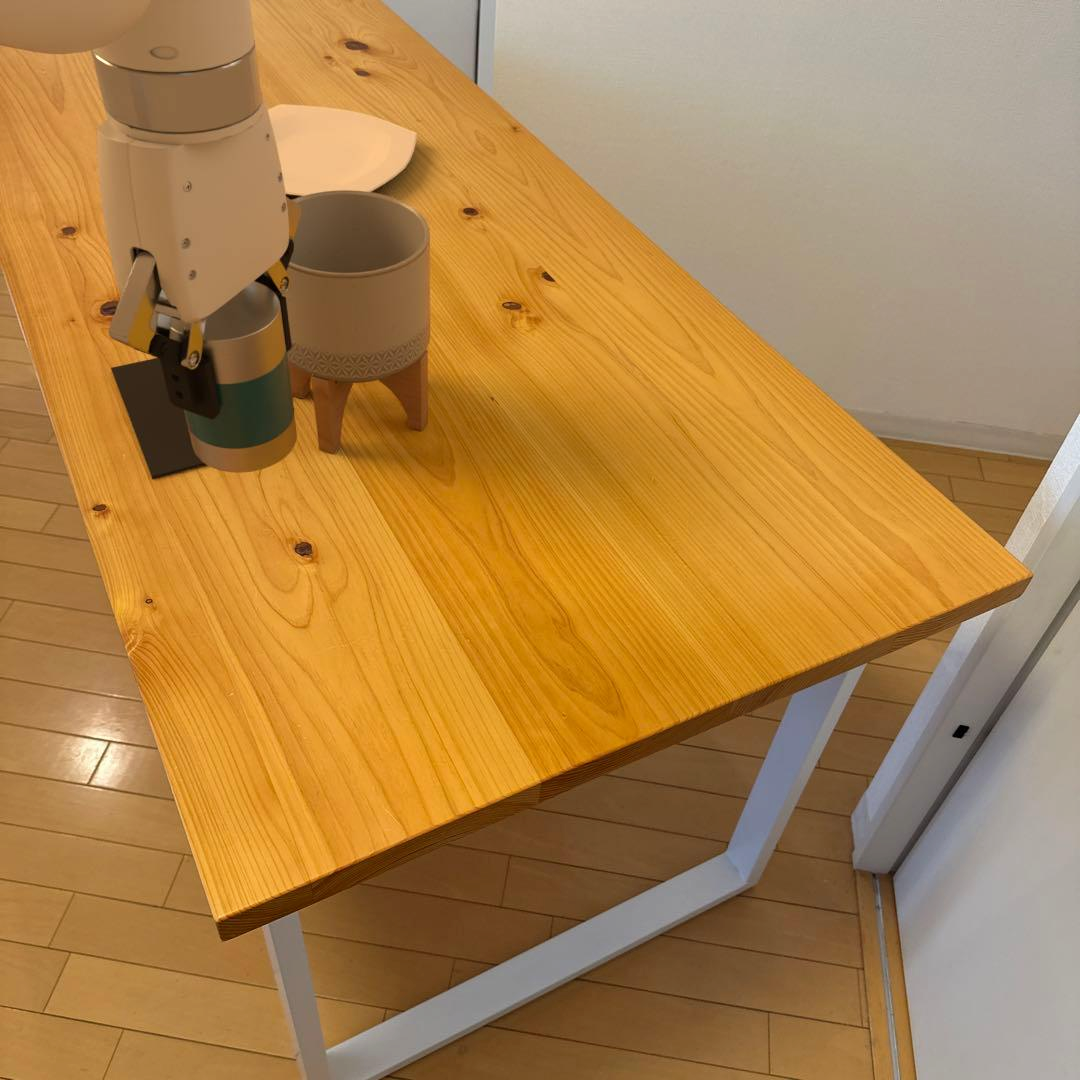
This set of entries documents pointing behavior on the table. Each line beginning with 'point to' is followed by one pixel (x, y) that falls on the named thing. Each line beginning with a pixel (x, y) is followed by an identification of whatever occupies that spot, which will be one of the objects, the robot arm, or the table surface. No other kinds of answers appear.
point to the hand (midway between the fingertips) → (233, 374)
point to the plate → (337, 149)
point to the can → (245, 385)
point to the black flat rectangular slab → (155, 418)
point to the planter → (359, 304)
